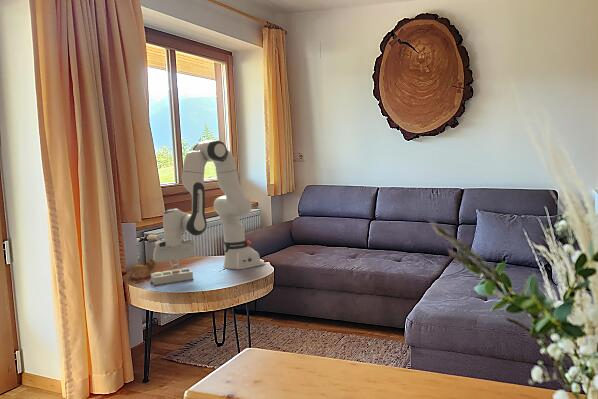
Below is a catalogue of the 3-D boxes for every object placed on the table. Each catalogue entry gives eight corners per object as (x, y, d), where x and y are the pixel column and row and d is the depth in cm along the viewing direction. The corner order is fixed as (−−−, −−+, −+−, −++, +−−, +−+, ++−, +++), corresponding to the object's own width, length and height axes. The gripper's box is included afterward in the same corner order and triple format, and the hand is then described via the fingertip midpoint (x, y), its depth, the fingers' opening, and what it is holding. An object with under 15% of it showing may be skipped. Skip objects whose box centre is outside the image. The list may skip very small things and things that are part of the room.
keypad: (188, 275, 268) (187, 267, 267) (193, 280, 257) (192, 272, 256) (151, 280, 260) (150, 273, 260) (154, 286, 249) (154, 278, 249)
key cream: (160, 277, 258) (160, 271, 257) (161, 278, 255) (161, 273, 254) (154, 278, 256) (153, 272, 256) (155, 279, 253) (154, 274, 253)
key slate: (187, 273, 263) (187, 267, 263) (189, 274, 260) (188, 268, 260) (181, 274, 262) (181, 268, 262) (183, 275, 259) (182, 269, 259)
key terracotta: (178, 274, 261) (178, 269, 261) (180, 275, 258) (179, 270, 258) (172, 275, 260) (172, 270, 260) (173, 276, 257) (173, 271, 257)
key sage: (169, 276, 259) (169, 270, 259) (171, 277, 257) (170, 271, 256) (163, 277, 258) (162, 271, 258) (164, 278, 255) (164, 272, 255)
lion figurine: (156, 273, 276) (154, 257, 276) (158, 275, 272) (157, 258, 271) (127, 278, 269) (126, 261, 268) (130, 280, 265) (128, 263, 264)
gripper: (192, 238, 264) (194, 264, 266) (151, 242, 256) (153, 269, 257) (195, 239, 259) (197, 266, 260) (153, 244, 250) (155, 272, 252)
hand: (175, 268), depth 259 cm, fingers closed
